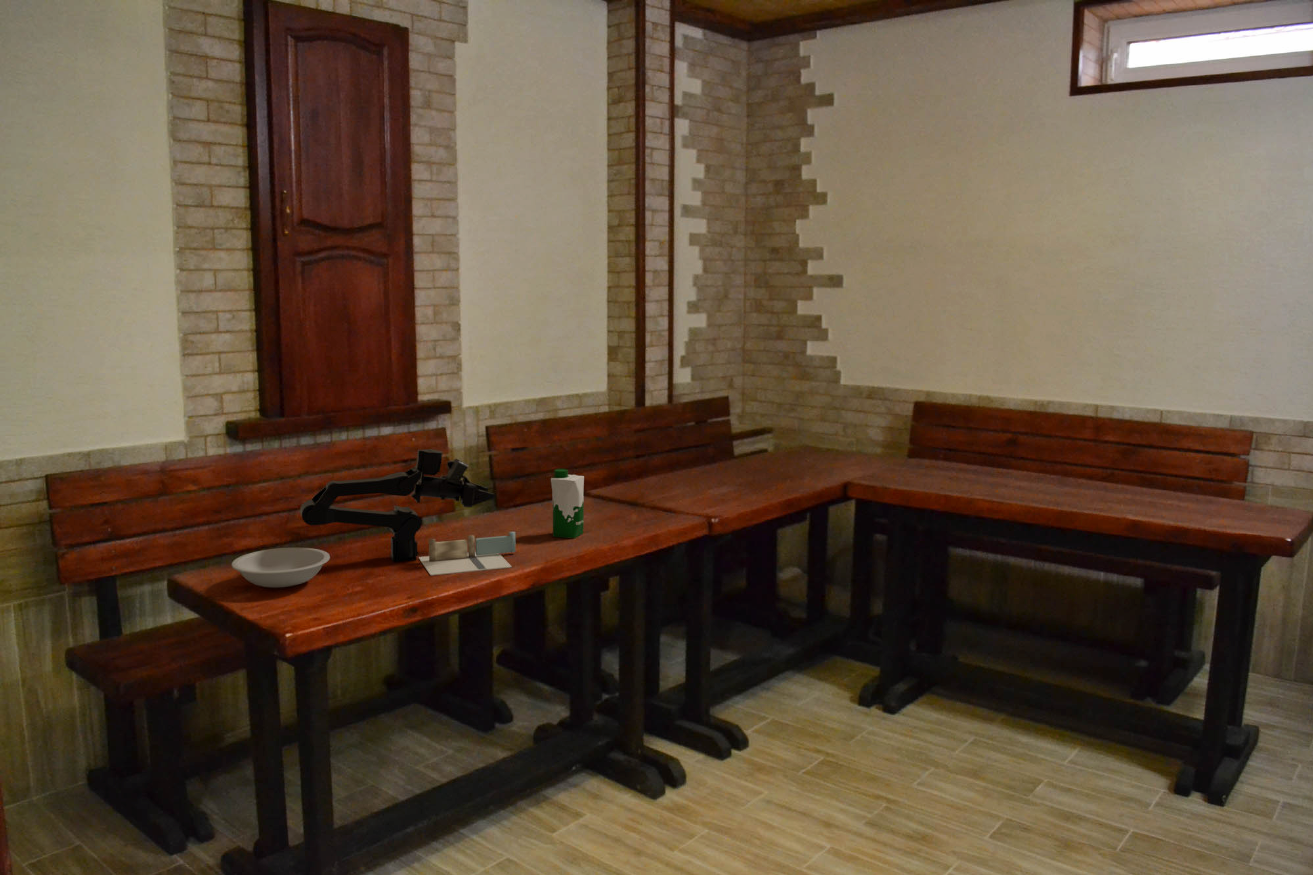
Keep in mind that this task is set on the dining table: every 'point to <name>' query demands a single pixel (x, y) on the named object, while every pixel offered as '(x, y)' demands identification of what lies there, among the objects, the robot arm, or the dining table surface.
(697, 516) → the dining table surface
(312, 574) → the soup bowl
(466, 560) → the card
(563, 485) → the milk carton
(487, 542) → the fence flap
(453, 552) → the fence fixed
